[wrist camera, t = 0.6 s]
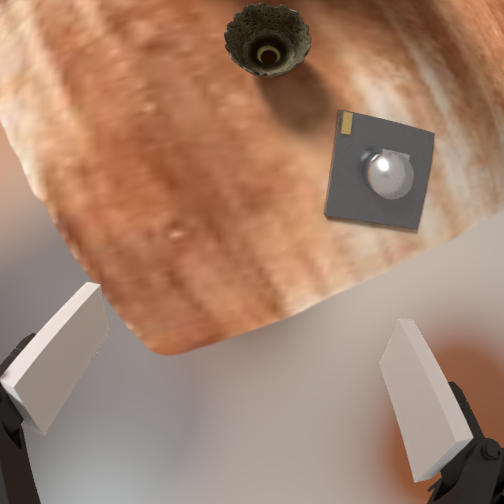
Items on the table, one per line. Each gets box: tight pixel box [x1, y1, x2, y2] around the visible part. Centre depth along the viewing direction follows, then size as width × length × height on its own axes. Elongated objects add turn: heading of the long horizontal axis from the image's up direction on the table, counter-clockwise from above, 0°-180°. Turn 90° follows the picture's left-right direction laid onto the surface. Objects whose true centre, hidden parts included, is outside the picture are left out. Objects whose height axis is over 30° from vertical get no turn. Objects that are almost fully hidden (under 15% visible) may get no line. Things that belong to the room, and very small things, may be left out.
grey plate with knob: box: [324, 110, 435, 229], centre depth 30 cm, size 12×12×4 cm
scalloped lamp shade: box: [224, 2, 311, 78], centre depth 24 cm, size 8×7×8 cm
